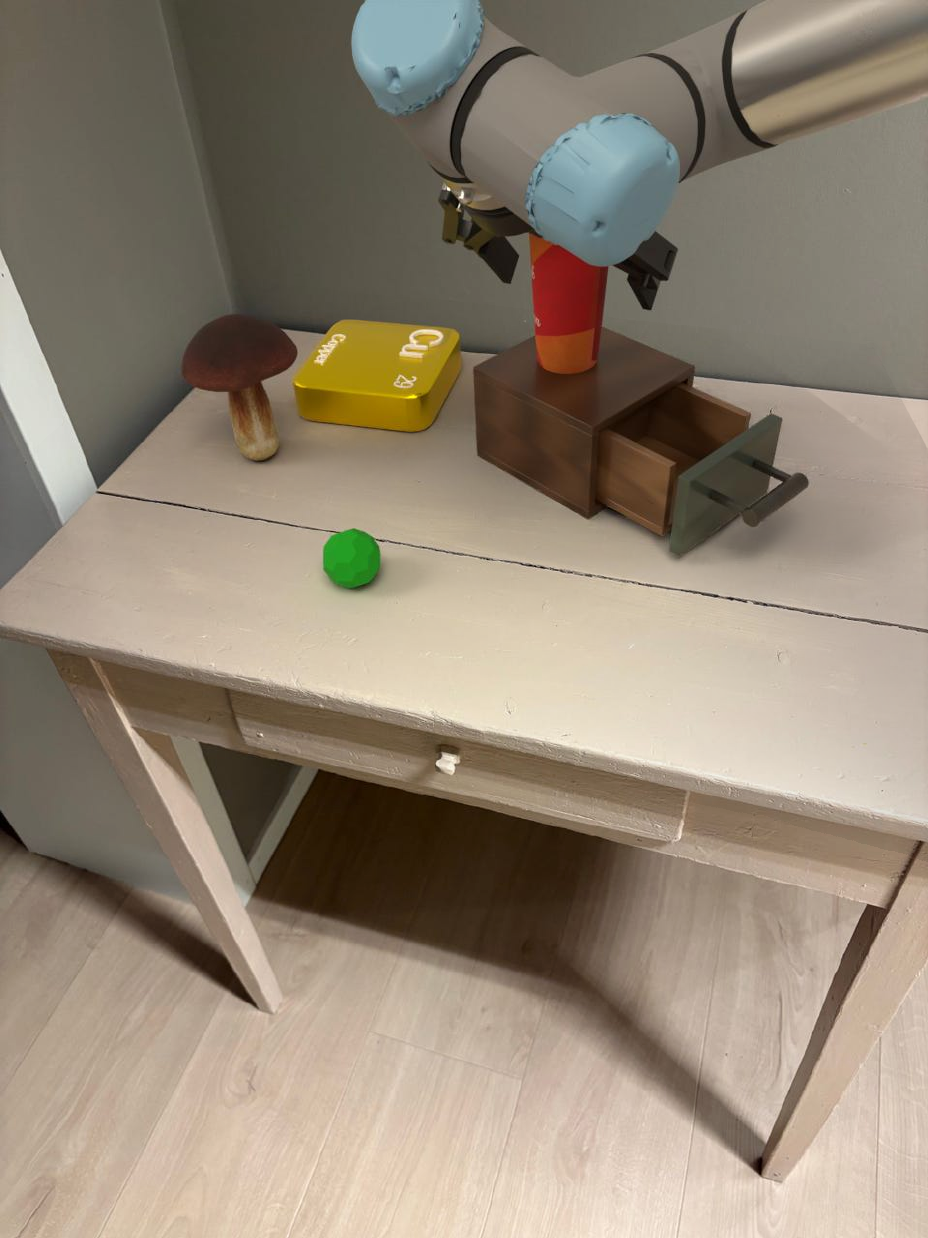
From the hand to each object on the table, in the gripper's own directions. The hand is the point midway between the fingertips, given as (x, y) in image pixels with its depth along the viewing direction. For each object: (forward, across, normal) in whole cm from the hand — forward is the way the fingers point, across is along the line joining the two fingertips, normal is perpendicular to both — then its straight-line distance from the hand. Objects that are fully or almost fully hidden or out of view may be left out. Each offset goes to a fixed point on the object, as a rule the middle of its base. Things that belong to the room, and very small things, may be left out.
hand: (579, 281), depth 86 cm
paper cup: (+3, 0, -6) cm, 7 cm away
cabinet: (+9, +2, -14) cm, 17 cm away
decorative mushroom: (0, -27, -23) cm, 36 cm away
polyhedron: (-8, -8, -31) cm, 33 cm away
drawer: (+6, +14, -16) cm, 22 cm away
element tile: (+11, -23, -12) cm, 28 cm away
